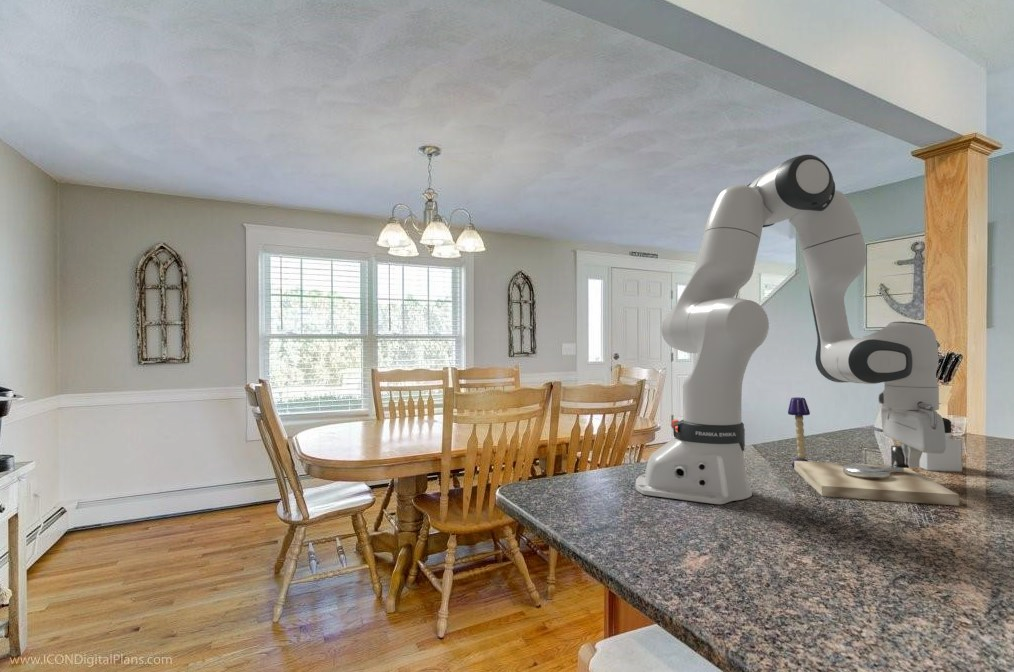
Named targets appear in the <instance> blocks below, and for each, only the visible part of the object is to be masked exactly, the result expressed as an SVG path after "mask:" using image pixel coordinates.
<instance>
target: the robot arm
mask: <svg viewBox="0 0 1014 672" xmlns="http://www.w3.org/2000/svg"><path fill="white" fill-rule="evenodd" d="M786 220H788V222H789V223H791V224H792V226H793V227H794V228H795V229H796V231H797V235H798V240H799V245H800V248H801V253H802V256H803V259H804V262H805V268H806V273H807V277H808V290H809V297H810V304H811V309H812V314H813V319H814V326H815V329H816V330H815V331H816V337H817V339H816V340H817V343H816V344H817V346H816V351H815V365H816V367H817V368H816V369H817V370H818V372H819V373H820V374H821V375H822V376H823V377H825V379H827V380H829V381H830V382H835V383H855V384H866V385H875V384H877V385H878V384H881V383H884V389H883V391H882V392H880V393H878V396H877V401H878V404H880V405H881V407H880V418H881V419H880V421H881V427H882V432H883V435H884V436H885V437H887V438H890V439H892V440H894V441H897V442H899V443H901V445H900V446H901V447H902V451H903V454H904V456H905V464H906V465H907V466H909V468H912V469H913V468H914V469H918V468H920V467H919V466H920V460H919V459H920V458H921V455H922V453H923V452H924V453H937V454H942V453H944V451H945V449H946V440H945V429H944V422H943V419H942V418H943V417H942V415H941V414H940V413H938V412H937V411H938V410H940V384H939V382H938V378H937V370H938V368H939V348H938V346H939V345H938V340H937V336H936V334H935V331H934V329H933V328H932V327H930V326H929V325H927V324H925V323H919V322H913V321H892V322H889V323H887V325H885V327H883V328H881V329H879V330H878V331H875V332H874V333H871V334H867V335H865V336H863V337H857V338H855V337H854V336H852V334H851V332H850V327H849V322H848V317H847V316H848V315H847V311H846V306H845V305H846V304H845V296H846V292H847V290H848V288H849V286H851V283H852V282H853V281H854V280H855V279H856V278H858V276H859V275H860V274H861V273H862V272H863V270H864V268H865V266H866V264H867V249H866V242H865V240H864V236H863V232H862V229H861V226H860V223H859V221H858V217H857V216H856V214H855V212H854V209H853V207H852V205H851V203H850V202H849V200H848V198H847V196H846V195H845V194H844V193H843V192H841V191H839V190H837V189H836V183H835V181H834V176H833V174H832V171H831V169H830V167H829V166H828V165H827V164H826V162H825V161H823V159H821V158H820V157H818V156H816V155H813V154H802V155H798V156H794V157H792V158H789V159H786V160H785V161H784V162H782V163H781V164H779V165H777V166H775V167H773V168H772V169H770V170H767V171H765V172H764V173H762V174H761V175H760V176H757V178H756V179H754V181H752V182H750V183H749V184H747V185H744V184H738V185H730V186H728V187H726V188H724V189H723V190H722V191H720V193H719V194H718V195H717V196H716V199H715V200H714V203H713V205H712V207H711V210H710V212H709V215H708V218H707V220H706V224H705V227H704V229H703V230H704V231H703V234H702V238H701V241H700V242H701V243H700V246H699V251H698V255H697V258H696V262H695V263H696V264H695V265H694V268H693V271H692V273H691V275H690V278H689V280H688V282H687V284H686V286H685V287H684V289H683V290H682V293H681V295H680V297H679V299H678V300H677V302H676V303H675V305H674V306H673V307H672V308H671V309H670V310H669V311H668V312H667V313H666V314H665V315H664V317H663V319H662V322H661V327H660V328H661V329H660V330H661V335H662V337H663V340H664V341H665V343H666V344H667V345H668V346H669V347H671V348H673V349H676V350H678V351H680V352H683V353H687V354H697V355H696V359H695V362H694V367H693V369H692V371H691V373H690V375H688V376H687V378H686V379H684V382H683V385H682V403H683V404H682V405H683V406H682V408H683V410H682V412H683V416H682V417H683V419H681V420H679V419H677V418H676V419H673V420H672V421H671V422H670V427H671V428H672V431H673V432H672V433H673V435H672V436H673V438H672V439H670V440H669V441H668V442H666V443H665V444H663V445H662V446H661V447H659V448H658V449H656V450H655V451H653V452H652V453H651V455H650V456H649V457H648V460H647V463H646V467H645V473H643V474H641V475H639V476H638V477H637V478H636V480H635V484H634V485H635V490H636V491H637V492H638V493H640V494H641V495H645V496H652V497H660V498H667V499H676V500H682V501H690V502H697V503H704V504H705V503H706V504H713V505H724V504H727V503H730V502H733V501H741V500H745V499H749V498H751V497H752V495H753V491H752V490H751V486H750V482H749V478H748V474H747V469H746V464H745V457H744V451H745V447H746V430H745V424H744V423H743V421H742V389H743V382H744V376H745V373H746V370H747V367H748V365H749V362H750V360H751V358H752V356H753V354H754V353H755V352H756V350H757V349H758V348H759V347H760V346H762V344H763V343H764V342H765V340H766V339H767V336H768V334H769V329H770V326H769V325H770V323H769V318H768V315H767V312H766V311H765V309H764V307H762V305H760V304H759V303H758V302H756V301H754V300H752V299H751V300H750V299H747V298H746V299H745V298H740V297H735V296H736V295H737V293H738V292H739V291H741V289H742V288H743V287H744V286H745V285H747V283H748V282H749V281H750V280H751V279H752V276H753V272H754V269H755V265H756V260H757V255H758V251H759V246H760V243H761V237H762V233H763V228H767V227H771V226H773V225H775V224H777V223H780V222H782V221H783V222H784V221H786Z"/></svg>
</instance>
